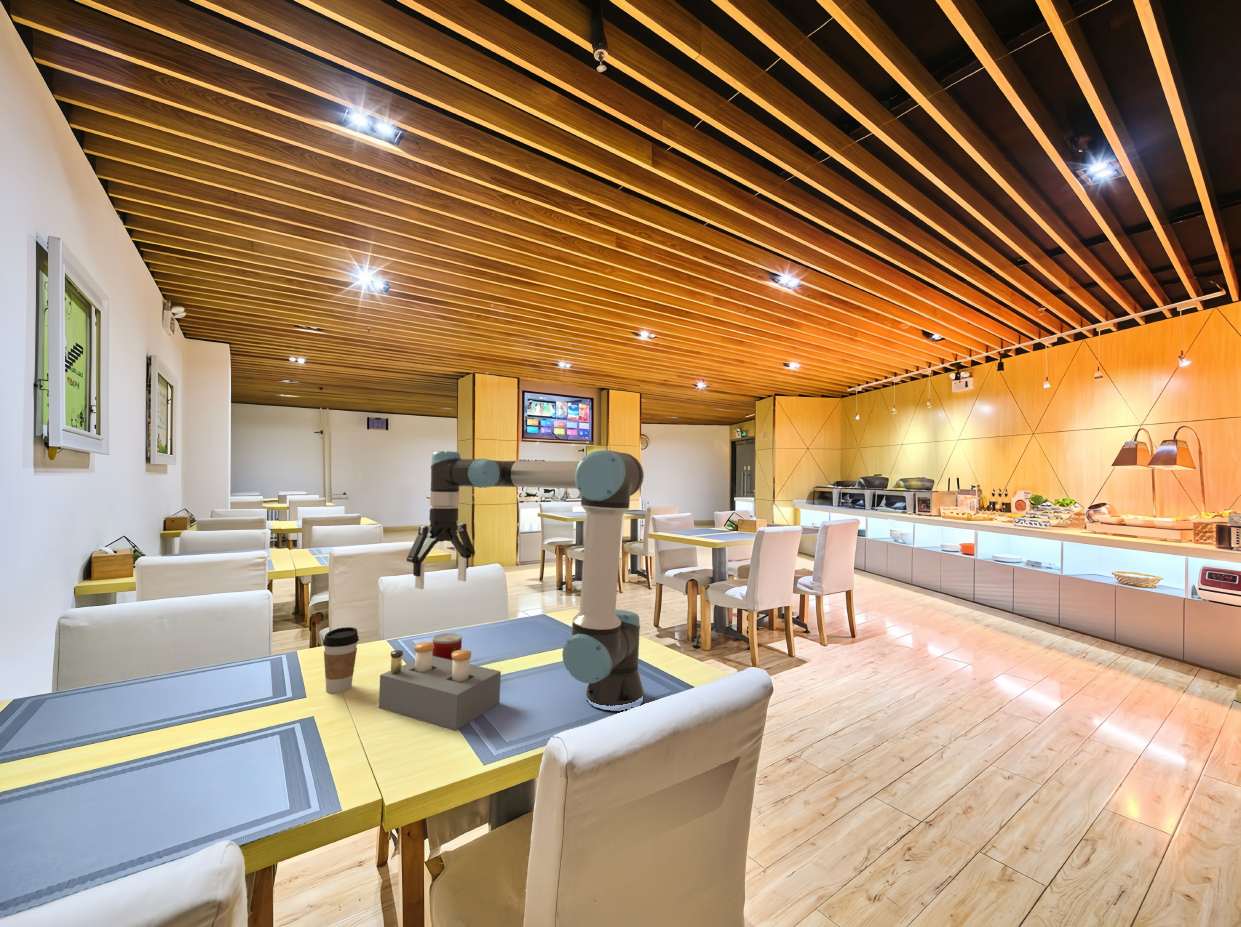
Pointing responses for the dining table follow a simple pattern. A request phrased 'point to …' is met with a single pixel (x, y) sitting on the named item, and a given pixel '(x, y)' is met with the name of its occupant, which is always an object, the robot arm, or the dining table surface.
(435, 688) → the grey vial rack
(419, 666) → the knob
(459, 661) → the knob
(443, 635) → the canned food
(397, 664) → the small capped vial
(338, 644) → the coffee cup
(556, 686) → the dining table surface
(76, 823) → the dining table surface
